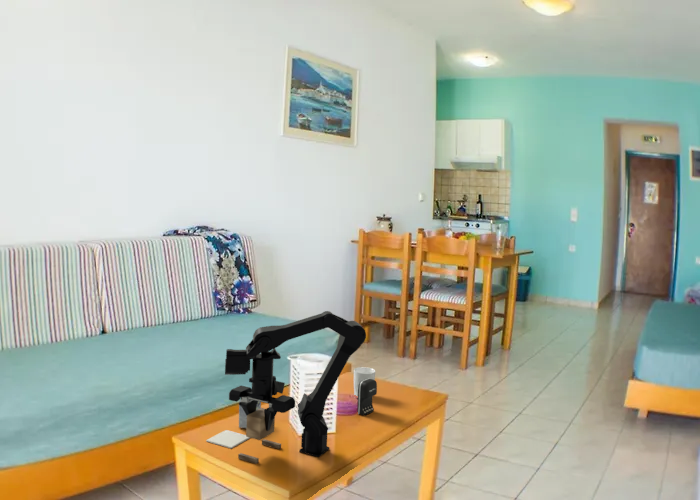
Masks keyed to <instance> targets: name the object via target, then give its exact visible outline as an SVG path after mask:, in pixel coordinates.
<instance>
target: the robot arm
mask: <svg viewBox="0 0 700 500" xmlns="http://www.w3.org/2000/svg"><path fill="white" fill-rule="evenodd" d="M325 329H330V330H332V331H333V332H335V333H337V334H339V336H338V339H337V340H338V341H337V346H336V349H335V351H334V353H333V354H332V356H331V358H330V360H329V361H328V364H327V366H326V367H325V369H324V371H323V373H322V374H321V376H320V378H319V380H318V382H317V383H316V386H315V387H314V389H313V391H312V392H311V393H309V394H307V393H303V395H302V398H301V401H299V403H297V414H298V418H299V421H300V424H301V426H302V427H303V429H302V433H301V442H300V443H301V445H300V446H301V448H299V453H302V454H306V455H310V456H313V457H316V458H317V457H318V458H319V457H321V456H322V455H323V454H325V453H326V452H327V451H330V447H329V446H328V431H329V427H328V425H327V423H326V420H325V417H324V416H323V415H324V412H325V406H326V402H327V400H328V397H329V395H330V394H331V392H332V390H333V388H334V386H335V384H336V383H337V381H338V379H339V377H340V375H341V373H342V371H343V370H344V368H345V367H346V364H347V362H348V361H349V359H350V357H351V356H352V355H353V354H355V353H356V352H357V351H358V350H359V348H360V347H361V346H363V344H364V342H365V340H366V339H367V333H366V330H365V327H363V326H362V325H361V324H360V323H359V322H358V321H355V320H346V319H344V318H343V317H341V316H339V315H336V314H335V313H333V312H331V311H330V310H326V311H325V310H324V311H323V312H321V313H319V314H316V315H312V316H309V317H306V318H303V319H299V320H295V321H293V322H290V323H286V324H282V325H267V326H261V327H259V328H256V329H255V331H254V332H253V334H252V340H250V342H249V343H248V344H247V345H246V346H245V349H232V348H227V349H226V355H225V363H224V364H225V365H224V367H225V368H224V375H225V376H226V375H227V376H229V375H233V376H234V375H239V376H240V375H246V374H247V373H249V372H250V371H251V377H248V378H249V379H248V382H249V383H251V387H250V386H246V385H245V386H244V385H238V386H236V387H234V388H232V389H230V390H229V392H228V400H229V401H233V402H236V403H237V402H238V406H239V405H240V406H241V407H242V408H243V410H244V412H245V414H246V416H247V415H249V414H251V413H253V412H255V411H256V406H257V403H258V401H259V402H261V403H265V404H267V405H268V407H266V408H265V410H264V415H265V427H266V431H269V430H270V427H271V425H272V422H273V420H274V417H275V418H276V416H277V413H281V414H285V413H287V412H289V411H290V410H292V409H294V408H295V407H296V399H295V398H294V396H289V395H285V394H283V393H284V388H285V384H286V383H285V382H283V381H278V380H277V378H276V376H275V375H274V361H275V360H281V354H280V352H278V351H277V350H276V349H277V348H278V347H280V346H281V345H282V344H284V343H285V342H287V341H289V340H293V339H296V338H299V337H301V336H302V337H303V336H305V335H309V334H311V333H315V332H318V331H321V330H325ZM251 360H252V365H251ZM251 366H252V367H251ZM251 369H252V370H251ZM278 393H279V394H280V396H278V397H274V396H277V395H278ZM239 401H240V402H239Z"/></svg>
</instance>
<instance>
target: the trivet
mask: <svg viewBox="0 0 700 500" xmlns="http://www.w3.org/2000/svg"><path fill="white" fill-rule="evenodd" d="M249 439H251V438H250V437H246V434H242V433H239V432H236V431H232V430H228V429H225V430H223V431H221V432H219V433H217V434H215V435H213V436H211V437H210V438H208V439H206V440H205V441H206V442H207V443H210V444H213V445H217V446H221V447H224V448H228V449H233V448H235V447H237V446H238V445H240V444H242V443H244V442H245V441H247V440H249Z"/></svg>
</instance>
